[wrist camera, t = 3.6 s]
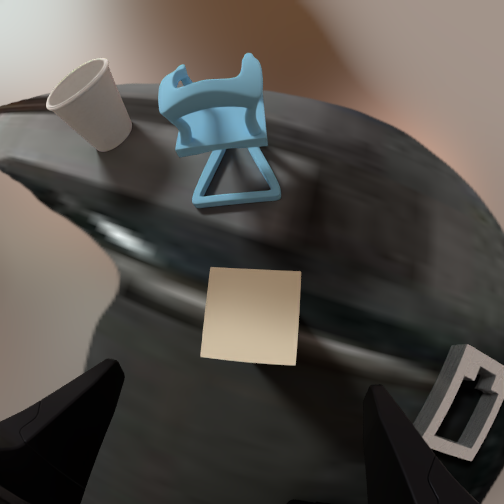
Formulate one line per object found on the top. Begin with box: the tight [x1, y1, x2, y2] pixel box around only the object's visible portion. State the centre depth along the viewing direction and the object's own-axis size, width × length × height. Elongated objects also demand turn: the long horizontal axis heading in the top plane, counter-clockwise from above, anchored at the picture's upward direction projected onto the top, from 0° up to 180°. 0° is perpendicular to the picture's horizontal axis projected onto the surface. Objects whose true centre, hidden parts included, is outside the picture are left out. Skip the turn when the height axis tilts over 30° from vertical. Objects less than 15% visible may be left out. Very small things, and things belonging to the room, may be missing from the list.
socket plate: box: [413, 344, 504, 461], centre depth 15 cm, size 8×7×2 cm
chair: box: [158, 53, 281, 208], centre depth 20 cm, size 8×8×12 cm
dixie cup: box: [46, 58, 132, 152], centre depth 26 cm, size 8×8×10 cm
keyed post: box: [201, 267, 301, 366], centre depth 16 cm, size 5×4×11 cm
